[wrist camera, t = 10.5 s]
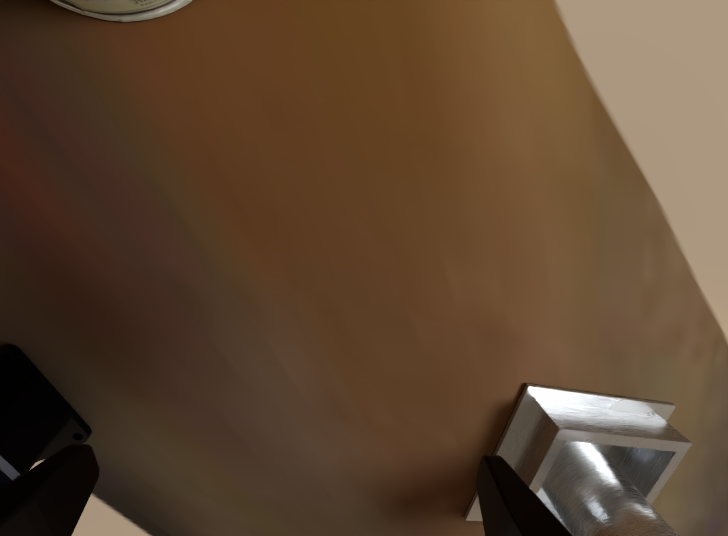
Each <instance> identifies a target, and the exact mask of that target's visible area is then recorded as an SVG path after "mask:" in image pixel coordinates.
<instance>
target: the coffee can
mask: <svg viewBox="0 0 728 536" xmlns="http://www.w3.org/2000/svg"><path fill="white" fill-rule="evenodd" d="M50 1H52V2H54V3H56V4H58V5H60V6H62V7H64V8H67V9H69V10H72V11H74V12H77V13H80V14H83V15H86V16H90V17H94V18H98V19H103V20H109V21H120V22H131V21H141V20H148V19H153V18H157V17H160V16H163V15H166V14H169V13H172V12H174V11H176V10H178V9H180V8H182V7H184V6H185V5H187V4H189V3H190V2H191V1H193V0H50Z"/></svg>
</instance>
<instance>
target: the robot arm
mask: <svg viewBox="0 0 728 536" xmlns="http://www.w3.org/2000/svg"><path fill="white" fill-rule="evenodd" d="M5 354H8V355H9V356H10V357H8V356H6V355H5ZM78 433H80V434H81V435H80V434H78ZM91 433H92V430H91V428H90V427H89V426H88V425H87V424H86V423H85V421H84V420H83V419H82V418H81V417H80V416H79V415H78V414H77V412H76V411H75V410H74V409H73V408H72V407H71V406H70V405H69V403H68V402H67V401H66V400H65V399H64V398H63V397H62V396H61V395H60V393H59V392H58V391H57V390H56V389H55V388H54V387H53V386H52V384H51V383H50V382H49V381H48V380H47V379H46V378H45V377H44V375H43V374H42V373H41V372H40V371H39V370H38V369H37V368H36V367H35V365H34V364H33V363H32V362H31V361H30V360H29V359H28V358H27V356H26V355H25V354H24V353H23V352H22V351H21V350H20V349H19V348H18V347H16V346H14V345H9V344H7V345H3V346H0V536H71V535H72V533H73V531H74V529H75V527H76V525H77V523H78V520H79V518H80V516H81V514H82V512H83V510H84V507H85V506H86V504H87V501H88V499H89V497H90V495H91V493H92V491H93V489H94V487H95V485H96V482H97V480H98V477H99V466H98V463H97V460H96V457H95V454H94V452H93V449H92V447H91V446H90V445H88V444H82V443H84V442H86V441H87V439H88V438H89V437H90V435H91ZM50 456H51V457H50ZM48 457H49V458H48ZM45 458H48V459H46V460H44V461H43V462H41V463H40V464H38V465H37V466H35V467H34V468H32V469H31V470H30V468H31V467H32V466H33V465H34V464H35V462H38V461H40V460H43V459H45ZM476 487H477V493H478V499H479V504H480V510H481V515H482V520H483V526H484V531H485V536H573V535H572V534H571V533H570V532H569V531H568V530H567V529H566V527H565V526H564V525H563V524H562V523H561V522H560V521H559V520H558V519H557V517H556V516H555V515H554V514H553V513H552V512H551V511H550V510H549V508H548V507H547V506H546V505H545V504H544V503H543V502H542V501H541V500H540V498H539V497H538V496H537V495H536V494H535V493H534V492H533V491H532V490H531V488H530V487H529V486H528V485H527V484H526V483H525V482H524V481H523V480H522V478H521V477H520V476H519V475H518V474H517V473H516V472H515V471H514V470H513V468H512V467H511V466H510V465H509V464H508V463H507V462H506V461H505V460H504V458H503V457H501V456H499V455H483V456H482V458H481V461H480V465H479V470H478V474H477V478H476Z"/></svg>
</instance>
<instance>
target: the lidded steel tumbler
mask: <svg viewBox="0 0 728 536" xmlns="http://www.w3.org/2000/svg"><path fill="white" fill-rule="evenodd" d="M541 488H542V489H543V491H544V493H545V494H546V496H547V497H548V499H549V500H550V502H551V504H552V505H553V507H554V508H555V510H556V512H557V513H558V515H559V516H560V518H561V519H562V521H563V523H564V524H565V526H566V527H567V529H568V531H569V532H570V533H571V534H572V535H573V536H679V535H678V534H677V533H676V532H675V531H674V530H673V528H672V527H671V526H670V525H669V524H668V523H667V522H666V521H665V519H664V518H663V517H662V516H661V515H660V514H659V513H658V512H657V510H656V509H655V508H654V507H653V506H652V505H651V504H650V503H649V501H648V500H647V499H646V498H645V497H644V496H643V495H642V494H641V493H640V491H639V490H638V489H637V488H636V487H635V486H634V485H633V484H632V482H631V481H630V480H629V479H628V478H627V477H626V476H625V475H624V473H623V472H622V471H621V470H620V469H619V468H618V467H617V466H616V464H615V463H614V462H613V461H612V460H611V459H610V458H609V457H608V455H607V454H606V453H605V452H604V451H603V450H602V449H601V448H600V447H599V445H598V444H595V443H585V442H575V441H565V443H564V445H563V447H562V448H561V450H560V452H559V454H558V456H557V458H556V460H555V461H554V463H553V465H552V467H551V469H550V471H549V473H548V475H547V476H546V478H545V480H544V482H543V484H542V486H541Z"/></svg>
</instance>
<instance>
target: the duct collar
mask: <svg viewBox="0 0 728 536" xmlns="http://www.w3.org/2000/svg"><path fill="white" fill-rule="evenodd" d="M675 407H676V406H675V405H674V404H673V403H667V402H660V401H653V400H645V399H638V398H631V397H624V396H616V395H609V394H602V393H594V392H587V391H580V390H573V389H565V388H558V387H551V386H544V385H536V384H529V383H526V385H525V387H524V389H523V391H522V393H521V395H520V397H519V400H518V402H517V404H516V406H515V408H514V410H513V413H512V415H511V417H510V419H509V421H508V423H507V425H506V428H505V430H504V432H503V434H502V436H501V438H500V441H499V443H498V445H497V447H496V449H495V451H494V453H493V455H499V456H501V457H503V458H504V460H505V461H506V462H507V463H508V464H509V465H510V466H511V467H512V468H513V470H514V471H515V472H516V473H517V474H518V475H519V476H520V477H521V478H522V480H523V481H524V482H525V483H526V484H527V485H528V486H529V487H530V488H531V490H532V491H533V492H534V493H535V494H536V495H537V496H538V497H539V498H540V500H541V501H542V502H543V503H544V504H545V505H546V506H547V507H548V508H549V510H550V511H551V512H552V513H553V514H554V515H555V516H556V517H557V519H558V520H559V521H560V522H561V523H562V524H563V525H564V526H565V524H564V523H563V521H562V519H561V518H560V516H559V515H558V513H557V512H556V510H555V508H554V507H553V505H552V504H551V502H550V500H549V499H548V497H547V496H546V494H545V493H544V491H543V489H542V488H541V486H542V484H543V482H544V480H545V478H546V476H547V475H548V473H549V471H550V469H551V467H552V465H553V463H554V461H555V460H556V458H557V456H558V454H559V452H560V450H561V448H562V447H563V445H564V443H565V441H575V442H585V443H595V444H598V445H599V447H600V448H601V449H602V450H603V451H604V452H605V453H606V454H607V455H608V457H609V458H610V459H611V460H612V461H613V462H614V463H615V464H616V466H617V467H618V468H619V469H620V470H621V471H622V472H623V473H624V475H625V476H626V477H627V478H628V479H629V480H630V481H631V482H632V484H633V485H634V486H635V487H636V488H637V489H638V490H639V491H640V493H641V494H642V495H643V496H644V497H645V498H646V499H647V500H648V501H649V503H650V504H652V503H653V501H654V500H655V498H656V497H657V495H658V494H659V492H660V491H661V489H662V488H663V486H664V485H665V484H666V482H667V481H668V479H669V478H670V476H671V475H672V473H673V472H674V470H675V469H676V467H677V466H678V464H679V463H680V461H681V460H682V458H683V457H684V455H685V454H686V452H687V451H688V449H689V448H690V446H691V445H692V442H690V441H689V440H688V439H687V438H685V437H684V436H683V435H682V434H681V433H679V432H678V431H677V430H676V429H675V428H673V427H672V426H671V425H670V424H669V423H667V422H666V421H667V420H668V418H669V417H670V415H671V414H672V412H673V410H674V409H675ZM464 517H465V520H466V521H483V520H482V515H481V510H480V504H479V499H478V493H477V490H476V492H475V494H474V497H473V499H472V501H471V503H470V505H469V507H468V509H467V512H466V514H465V516H464ZM565 527H566V526H565ZM566 529H567V527H566ZM567 530H568V529H567Z"/></svg>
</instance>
